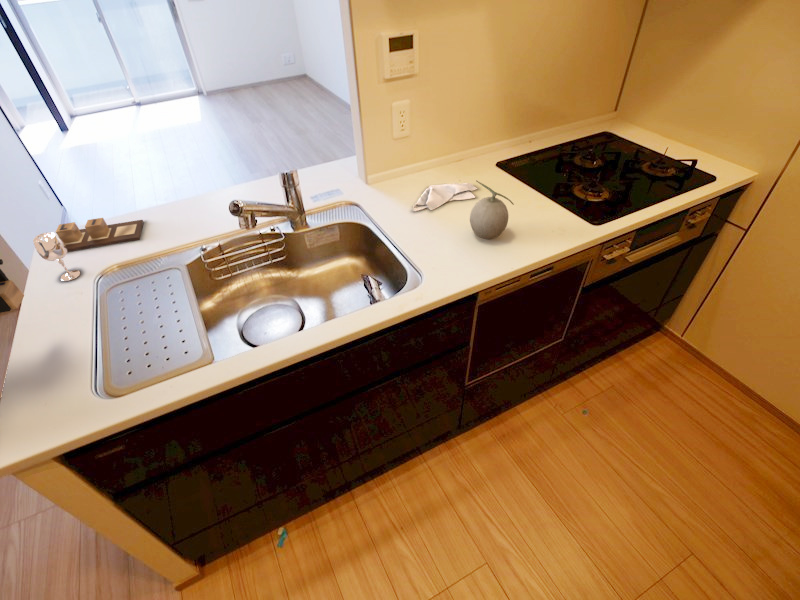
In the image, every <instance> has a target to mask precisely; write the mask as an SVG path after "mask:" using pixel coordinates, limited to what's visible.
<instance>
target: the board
mask: <svg viewBox="0 0 800 600" xmlns="http://www.w3.org/2000/svg"><path fill="white" fill-rule="evenodd" d="M144 224H145V222H144V220H143V219H138V220H131V221H126V222H125V221H123V222H118V223H113V224H107V226H108V228H109V232H108V234H107V236H106V237H100V238H93V239H92V238H91V237H90V235H89V233H88V232H87V230H86V228H81V229H80V228H79V230H80V232H81V233H82V235H81V237H80V239H79V241H76V242H70V243H64V244H65V245H66V247H67V253H69V252H75V251H80V250H86V249H93V248H98V247H105V246H113V245H116V244H122V243H128V242H129V243H130V242H135V241H140V239H141V237H142V236H141V235H142V231H143V227H144Z"/></svg>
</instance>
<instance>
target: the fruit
mask: <svg viewBox="0 0 800 600" xmlns="http://www.w3.org/2000/svg"><path fill="white" fill-rule="evenodd" d="M475 182H476V183H478V184H480V185H481V187H484V188H485V189H487V190H488V192H490V193H491V195H492V196H487V197H482V198H481V199H479V200H478V201H476V202H475V204H474V205H473V206H472V209H471V211H470V215H469V223H470V227H471V230H472V231H473V233H474V234H475V235H476V236H477V237H478V238H481V239H485V240H493V239H496V238H498V237H500V236H501V235H502V233H504V232H505V230H506V228H507V226H508V222H509V211H508V208H507V205H506V204H505V203H504V202H503V200H501V199H499V198H498V197H497V196H500V197H502V198H504V199H506V200H508V202H510V203H511V204H512V205H515V203H514V202H513V201H512V200H511V199H510V198H508V197H506V196H505V195H503V194H501V193H499V192H496V191H495V190H493V189H492V188H490V187H489V186H487V185H485V184H484V183H482V182H480V181H479V180H475Z"/></svg>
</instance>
